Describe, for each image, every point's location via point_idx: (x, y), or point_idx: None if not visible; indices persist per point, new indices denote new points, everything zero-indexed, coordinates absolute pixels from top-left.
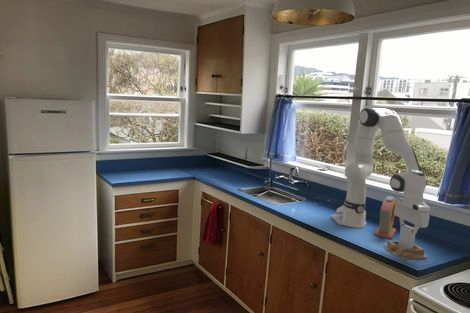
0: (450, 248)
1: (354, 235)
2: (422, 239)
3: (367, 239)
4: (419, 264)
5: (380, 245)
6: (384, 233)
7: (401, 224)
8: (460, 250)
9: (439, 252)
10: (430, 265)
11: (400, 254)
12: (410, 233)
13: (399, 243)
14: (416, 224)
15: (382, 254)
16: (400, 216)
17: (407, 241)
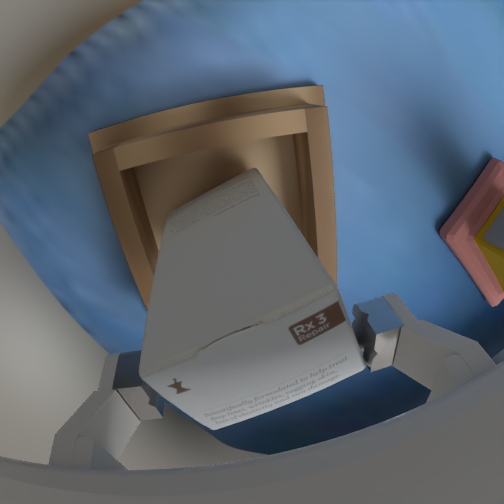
0: (295, 432)
1: (487, 26)
2: (395, 377)
3: (447, 60)
4: (39, 220)
5: (356, 83)
6: (483, 216)
7: (393, 319)
8: (276, 448)
9: None
10: (49, 281)
11: (138, 136)
12: (149, 322)
13: (251, 185)
14: (3, 472)
15: (171, 4)
16: (492, 397)
17: (177, 246)
